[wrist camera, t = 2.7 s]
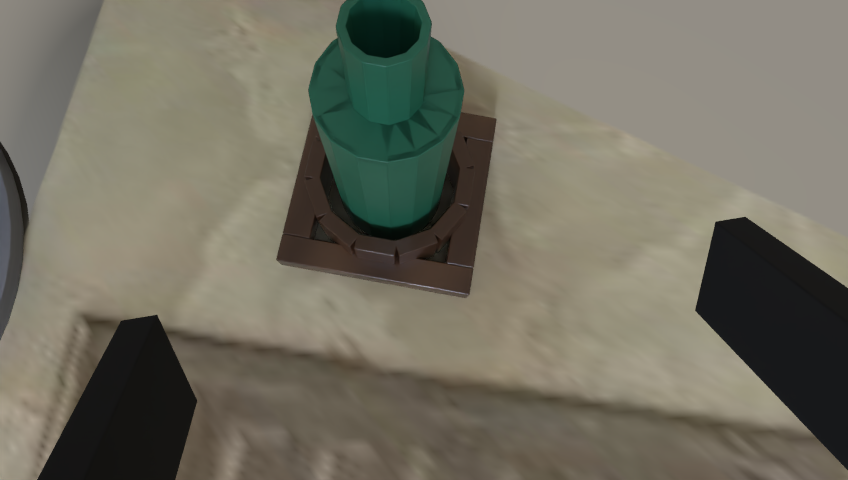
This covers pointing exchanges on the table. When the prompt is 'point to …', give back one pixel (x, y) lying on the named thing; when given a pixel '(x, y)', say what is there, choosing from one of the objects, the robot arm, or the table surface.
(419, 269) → the holder
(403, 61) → the bottle
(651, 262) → the table surface
